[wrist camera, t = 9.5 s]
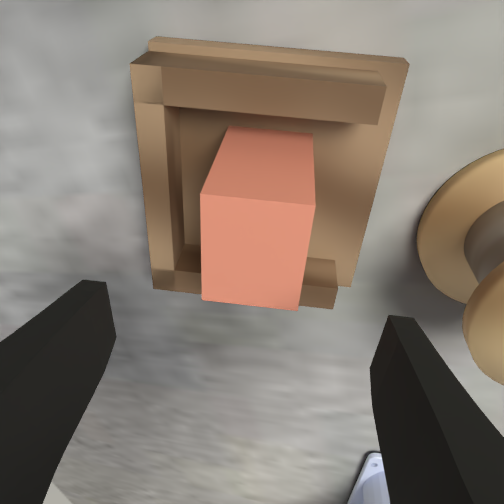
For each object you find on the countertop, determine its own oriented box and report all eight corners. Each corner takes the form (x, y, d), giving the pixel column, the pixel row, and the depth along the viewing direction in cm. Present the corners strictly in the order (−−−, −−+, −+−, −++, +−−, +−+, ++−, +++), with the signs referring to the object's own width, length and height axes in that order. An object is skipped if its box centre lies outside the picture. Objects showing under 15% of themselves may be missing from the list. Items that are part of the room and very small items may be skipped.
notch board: (348, 274, 21) (354, 316, 18) (170, 254, 21) (153, 293, 19) (403, 57, 15) (423, 79, 13) (156, 36, 15) (128, 53, 13)
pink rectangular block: (299, 222, 18) (297, 311, 14) (226, 215, 18) (201, 299, 14) (312, 133, 16) (315, 205, 11) (228, 125, 16) (199, 193, 12)
